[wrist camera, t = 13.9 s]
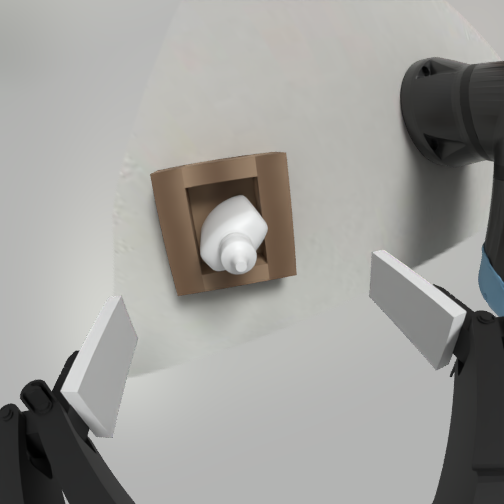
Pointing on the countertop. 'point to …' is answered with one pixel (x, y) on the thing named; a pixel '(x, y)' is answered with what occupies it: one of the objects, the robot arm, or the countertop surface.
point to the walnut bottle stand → (211, 195)
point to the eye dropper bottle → (232, 236)
